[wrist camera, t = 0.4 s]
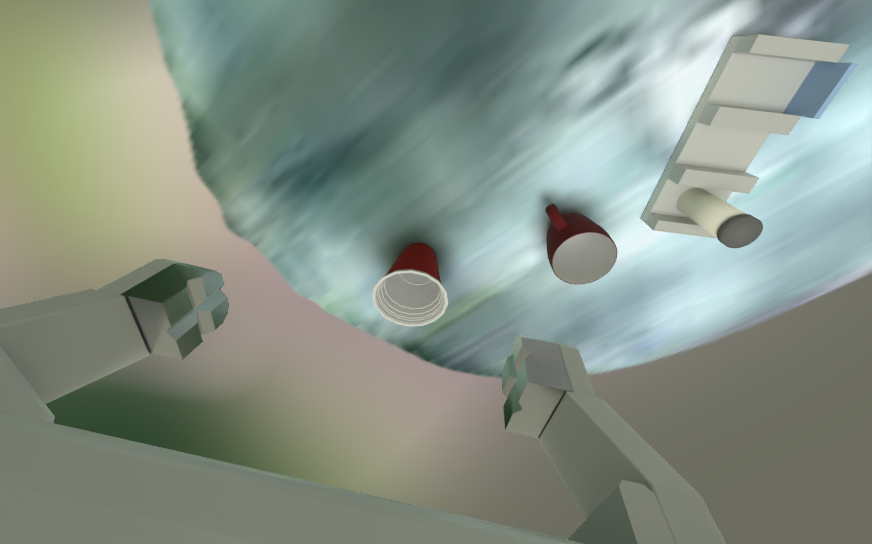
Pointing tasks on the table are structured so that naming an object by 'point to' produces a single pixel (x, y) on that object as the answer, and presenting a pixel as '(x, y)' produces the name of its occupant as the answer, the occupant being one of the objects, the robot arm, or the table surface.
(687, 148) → the stepped cream block
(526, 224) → the table surface
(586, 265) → the mug
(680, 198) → the grey-capped cream cylinder
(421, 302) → the plastic cup
